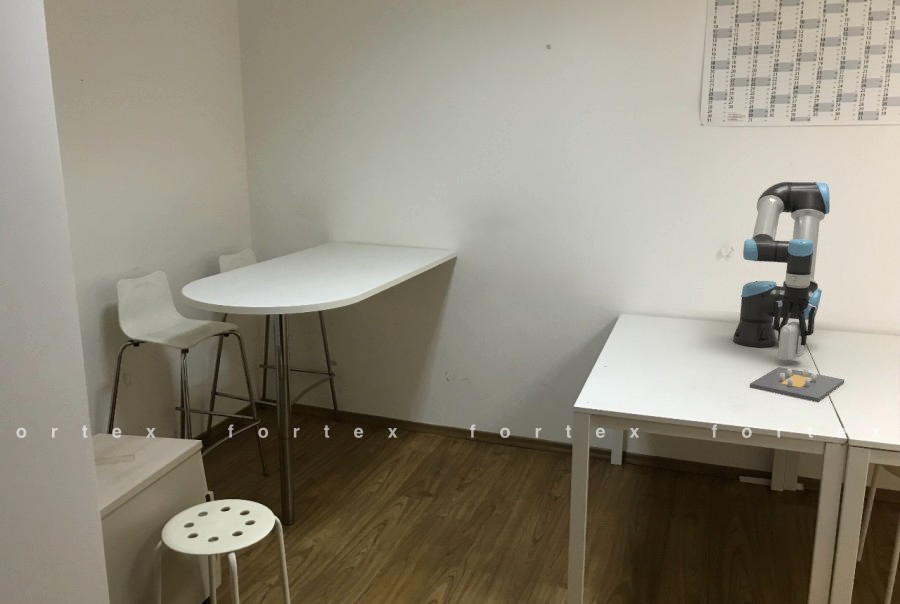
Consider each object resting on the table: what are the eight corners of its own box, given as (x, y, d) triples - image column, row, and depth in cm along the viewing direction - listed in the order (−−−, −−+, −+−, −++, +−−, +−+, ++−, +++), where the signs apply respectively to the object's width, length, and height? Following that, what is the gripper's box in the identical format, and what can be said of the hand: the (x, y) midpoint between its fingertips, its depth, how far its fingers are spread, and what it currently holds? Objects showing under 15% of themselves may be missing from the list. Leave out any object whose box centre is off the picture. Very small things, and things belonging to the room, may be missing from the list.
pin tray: (749, 387, 226) (750, 375, 226) (778, 370, 243) (779, 359, 243) (818, 402, 213) (819, 390, 212) (844, 383, 230) (845, 371, 229)
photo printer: (793, 353, 255) (796, 318, 252) (804, 356, 251) (808, 321, 249) (775, 358, 249) (778, 323, 247) (787, 361, 246) (790, 325, 243)
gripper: (765, 283, 248) (759, 349, 253) (822, 291, 236) (815, 360, 241) (773, 280, 254) (768, 345, 259) (829, 287, 241) (822, 355, 246)
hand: (790, 352), depth 250 cm, fingers closed on photo printer, 5 cm apart
